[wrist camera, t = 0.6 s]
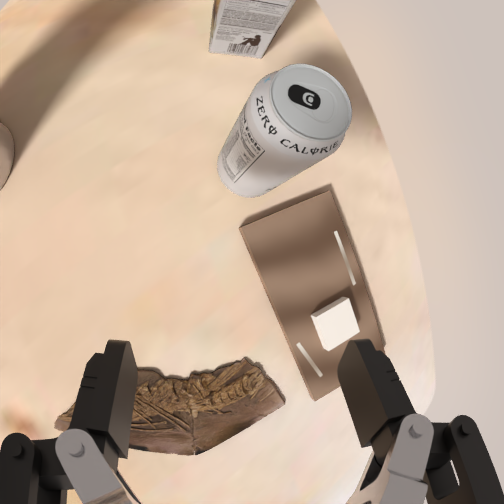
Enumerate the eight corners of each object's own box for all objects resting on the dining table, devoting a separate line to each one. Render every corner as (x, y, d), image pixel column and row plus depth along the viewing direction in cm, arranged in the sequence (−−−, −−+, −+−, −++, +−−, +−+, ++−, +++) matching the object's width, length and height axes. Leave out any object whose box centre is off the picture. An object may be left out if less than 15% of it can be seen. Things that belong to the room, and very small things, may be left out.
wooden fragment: (281, 351, 30) (285, 354, 29) (285, 436, 30) (288, 440, 29) (38, 369, 24) (34, 373, 23) (67, 453, 24) (65, 458, 23)
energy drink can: (268, 207, 30) (353, 169, 15) (207, 188, 28) (244, 126, 14) (282, 151, 30) (365, 83, 15) (225, 132, 28) (273, 40, 14)
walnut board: (238, 228, 29) (241, 227, 28) (325, 192, 31) (330, 190, 30) (311, 397, 31) (315, 401, 30) (380, 352, 33) (385, 355, 32)
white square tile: (310, 314, 30) (315, 317, 28) (342, 296, 31) (348, 298, 29) (323, 347, 30) (328, 351, 29) (353, 329, 31) (359, 331, 30)
